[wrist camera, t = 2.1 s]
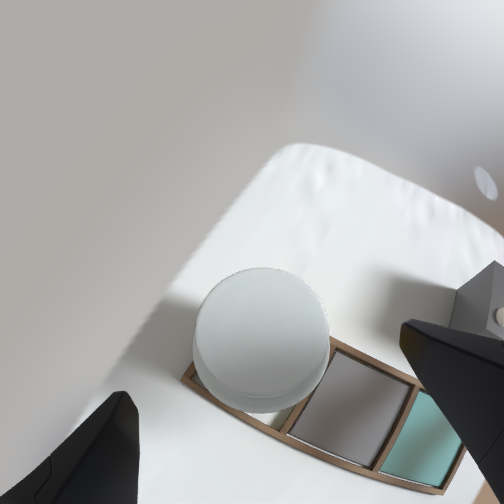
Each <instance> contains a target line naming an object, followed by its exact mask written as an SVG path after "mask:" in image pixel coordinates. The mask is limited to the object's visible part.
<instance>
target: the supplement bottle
mask: <svg viewBox="0 0 504 504" xmlns="http://www.w3.org/2000/svg"><path fill="white" fill-rule="evenodd" d="M192 353H193V360H194V364H195V368H196V371H197V373H198V375H199V377H200V379H201V381H202V382H203V384H204V385H205V387H206V388H207V389H208V390H209V392H210V393H211V394H212V395H213V396H214V397H216V398H217V399H218V400H220V401H221V402H222V403H224V404H226V405H228V406H230V407H232V408H234V409H237V410H240V411H243V412H248V413H259V414H263V413H273V412H278V411H281V410H284V409H287V408H289V407H291V406H293V405H295V404H297V403H298V402H300V401H301V400H303V399H304V398H305V397H307V396H308V395H309V394H310V393H311V392H312V391H313V390H314V388H315V387H316V386H317V385H318V383H319V382H320V380H321V378H322V376H323V374H324V372H325V370H326V367H327V364H328V360H329V353H330V341H329V323H328V316H327V314H326V311H325V308H324V306H323V304H322V302H321V300H320V298H319V297H318V295H317V294H316V293H315V292H314V290H313V289H312V288H311V287H310V286H309V285H308V284H306V283H305V282H304V281H303V280H301V279H300V278H298V277H296V276H295V275H293V274H290V273H288V272H285V271H282V270H279V269H273V268H252V269H247V270H243V271H240V272H237V273H235V274H233V275H231V276H229V277H227V278H225V279H224V280H222V281H221V282H220V283H218V284H217V285H216V286H215V287H214V288H213V289H212V290H211V291H210V292H209V294H208V295H207V297H206V298H205V300H204V301H203V303H202V305H201V307H200V310H199V312H198V315H197V319H196V325H195V331H194V335H193V343H192Z"/></svg>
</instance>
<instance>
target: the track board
mask: <svg viewBox="0 0 504 504" xmlns="http://www.w3.org/2000/svg"><path fill="white" fill-rule="evenodd" d="M329 341H330V353H329V360H330V358H331V356H332V354H333V352H334V350H335V348H336V349H338V350H340V351H342V352H344V353H346V354H348V355H350V356H352V357H354V358H356V359H358V360H360V361H362V362H364V363H366V364H368V365H370V366H372V367H374V368H376V369H378V370H380V371H382V372H385V373H387V374H389V375H391V376H393V377H395V378H397V379H399V380H401V381H404V382H406V383H408V384H410V385H412V387H411V390H410V392H409V394H408V397H407V399H406V401H405V403H404V400H405V398H406V396H407V393H408V391H409V389H410V387H409V386H407V385H405V384H403V383H401V382H398V381H396V380H394V379H392V378H390V377H388V376H386V375H383V374H381V373H379V372H377V371H375V370H373V369H371V368H369V367H367V366H365V365H363V364H361V363H359V362H357V361H355V360H353V359H351V358H349V357H347V356H345V355H343V354H341V353H339V352H336V353H335V355H334V357H333V359H332V361H331V362H330V364H329V366H328V368H327V370H326V372H325V374H324V376H323V377H322V379H321V381H320V383H319V385H318V386H317V388H316V390H315V392H314V393H313V395H312V397H311V399H310V400H309V402H308V404H307V406H306V407H305V409H304V411H303V412H302V414H301V415H300V417H299V419H298V420H297V422H296V424H295V425H294V427H293V428H292V430H291V431H290V434H292V435H294V436H296V437H298V438H300V439H303V440H305V441H307V442H309V443H311V444H313V445H316V446H318V447H320V448H323V449H325V450H327V451H330V452H332V453H334V454H337V455H339V456H342V457H344V458H347V459H349V460H352V461H355V462H357V463H360V464H363V465H366V466H369V467H370V465H371V464H372V462H373V460H374V459H375V457H376V455H377V453H378V452H379V450H380V448H381V446H382V445H383V443H384V441H385V439H386V437H387V435H388V433H389V431H390V430H391V428H392V426H393V424H394V422H395V420H396V417H397V415H398V413H399V411H400V409H401V407H402V405H403V403H404V406H403V408H402V410H401V412H400V414H399V416H398V418H397V420H396V422H395V425H394V427H393V428H392V430H391V432H390V434H389V436H388V438H387V440H386V442H385V444H384V445H383V447H382V449H381V451H380V453H379V454H378V456H377V458H376V460H375V461H374V463H373V465H372V466H371V468H370V469H366V468H363V467H360V466H357V465H355V464H352V463H349V462H347V461H344V460H342V459H339V458H337V457H334V456H332V455H329V454H327V453H324V452H322V451H320V450H318V449H315V448H313V447H311V446H309V445H306V444H304V443H302V442H300V441H298V440H296V439H294V438H291V437H289V436H287V435H286V434H287V432H288V431H289V429H290V428H291V426H292V424H293V423H294V421H295V420H296V418H297V416H298V415H299V413H300V412H301V410H302V408H303V407H304V405H305V403H306V401H307V400H308V398H309V396H310V395H311V393H312V392H311V393H310V394H309V395H308V396H307V397H305V398H304V399H303V400H301V401H300V402H298V403H297V404H296V405H295V407H294V408H293V410H292V412H291V413H290V415H289V416H288V418H287V420H286V421H285V423H284V424H283V426H282V427H281V429H280V431H277V430H275V429H274V428H272V427H270V426H268V425H266V424H264V423H262V422H260V421H258V420H257V419H255V418H253V417H251V416H249V415H248V414H246V413H244V412H242V411H240V410H237V409H234V408H232V407H230V406H228V405H226V404H224V403H222V402H221V401H220V400H218V399H217V398H216V397H214V396H213V395H212V394H211V393H210V392H209V391H208V390H206V389H205V388H203V387H202V386H200V385H199V384H197V383H196V382H194V381H193V380H191V378H192V377H193V375H194V374H195V372H196V368H195V364H194V360H193V362H192V363H191V365H190V366H189V368H188V369H187V371H186V372H185V374H184V375H183V377H182V378H181V379H180V381H182V382H183V383H185V384H186V385H188V386H189V387H190V388H192V389H193V390H195V391H196V392H198V393H199V394H201V395H203V396H204V397H206V398H207V399H209V400H210V401H212V402H213V403H215V404H217V405H218V406H220V407H222V408H223V409H225V410H226V411H228V412H230V413H231V414H233V415H235V416H237V417H238V418H240V419H242V420H244V421H245V422H247V423H249V424H251V425H253V426H254V427H256V428H258V429H260V430H262V431H264V432H266V433H267V434H269V435H271V436H273V437H275V438H277V439H279V440H281V441H283V442H285V443H287V444H289V445H292V446H294V447H296V448H298V449H300V450H302V451H304V452H307V453H309V454H311V455H314V456H316V457H318V458H321V459H323V460H325V461H328V462H330V463H333V464H335V465H338V466H340V467H343V468H346V469H348V470H351V471H354V472H357V473H360V474H362V475H365V476H368V477H371V478H375V479H378V480H381V481H384V482H388V483H391V484H395V485H398V486H402V487H406V488H410V489H414V490H418V491H423V492H427V493H432V494H437V495H444V493H445V491H446V490H447V488H448V486H449V484H450V482H451V481H452V479H453V477H454V475H455V473H456V471H457V469H458V467H459V465H460V463H461V461H462V459H463V457H464V455H465V452H466V450H467V448H466V447H465V445H464V444H463V442H462V441H461V439H460V438H459V436H458V435H457V433H456V432H455V430H454V429H453V428H452V426H451V425H450V423H449V422H448V420H447V419H446V417H445V416H444V415H443V413H442V412H441V410H440V409H439V407H438V406H437V405H436V403H435V402H434V400H433V399H432V398H431V396H429V395H427V394H425V393H422V392H420V391H419V389H421V390H423V391H426V389H425V388H424V387H423V385H422V384H421V382H420V381H419V380H418V379H416V378H414V377H412V376H410V375H408V374H406V373H404V372H401V371H399V370H397V369H395V368H393V367H391V366H389V365H387V364H385V363H383V362H381V361H379V360H377V359H375V358H373V357H371V356H369V355H367V354H365V353H363V352H361V351H359V350H357V349H355V348H353V347H351V346H349V345H347V344H345V343H343V342H341V341H339V340H337V339H335V338H333V337H331V336H329ZM329 360H328V362H329ZM426 392H427V391H426ZM461 443H462V444H461ZM459 448H460V449H459ZM458 450H459V451H458ZM457 452H458V453H457ZM456 454H457V455H456ZM379 470H380V471H383V472H387V473H390V474H393V475H396V476H400V477H403V478H407V479H410V480H414V481H418V482H422V483H426V484H430V485H435V486H439V487H440V488H439V489H437V488H432V487H428V486H424V485H420V484H416V483H412V482H408V481H404V480H401V479H397V478H394V477H390V476H387V475H384V474H381V473H378V471H379ZM446 474H447V475H446ZM445 476H446V477H445ZM444 478H445V479H444ZM440 485H441V486H440Z"/></svg>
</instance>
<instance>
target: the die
mask: <svg viewBox="0 0 504 504" xmlns="http://www.w3.org/2000/svg"><path fill="white" fill-rule="evenodd" d="M449 328H452V329H456V330H460V331H464V332H469V333H473V334H477V335H482V336H486V337H490V338H495V339H499V340H504V267H503V266H502V265H501V264H499V263H498V262H496V261H495V260H494V261H493V262H492V263H491V264H489V265H488V266H487V267H486V268H485V269H483V270H482V271H481V272H480V273H478V274H477V275H476V276H475V277H473V278H472V279H471V280H469V281H468V282H467V283H465V284H464V285H463V286H461V287H460V288H459V289H457V294H456V299H455V303H454V308H453V312H452V316H451V320H450V324H449Z"/></svg>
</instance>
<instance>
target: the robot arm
mask: <svg viewBox="0 0 504 504" xmlns="http://www.w3.org/2000/svg"><path fill="white" fill-rule="evenodd" d="M399 344H400V348H401V350H402V352H403V354H404V355H405V357H406V359H407V360H408V362H409V364H410V365H411V367H412V369H413V371H414V372H415V374H416V376H417V378H418V379H419V381H420V382H421V384H422V385H423V387H424V388H425V389H426V391H427V392H428V393H429V395H430V396H431V398H432V399H433V400H434V402H435V403H436V405H437V406H438V407H439V409H440V410H441V412H442V413H443V415H444V416H445V417H446V419H447V420H448V422H449V423H450V425H451V426H452V428H453V429H454V430H455V432H456V433H457V435H458V436H459V438H460V439H461V441H462V442H463V444H464V445H465V447H466V448H467V450H468V452H469V453H470V455H471V456H472V458H473V459H474V461H475V462H476V464H477V465H478V467H479V469H480V471H481V472H482V474H483V475H484V477H485V479H486V480H487V482H488V484H489V485H490V487H491V488H492V490H493V492H494V494H495V495H496V497H497V499H498V501H499V502H500V504H504V340H499V339H495V338H490V337H486V336H482V335H477V334H473V333H469V332H464V331H460V330H456V329H452V328H448V327H443V326H439V325H435V324H431V323H427V322H423V321H419V320H415V319H410V320H408V321H406V322H403V323H402V325H401V332H400V341H399ZM139 459H140V444H139V413H138V409H137V407H136V406H135V404H134V402H133V401H132V399H131V397H130V396H129V394H128V393H127V392H126V391H117V392H114V393H112V394H111V395H110V396H109V397H108V398H107V399H106V400H105V401H104V402H103V403H102V404H101V405H100V406H99V407H98V408H97V409H96V410H95V411H94V412H93V413H92V414H91V415H90V416H89V417H88V418H87V419H86V420H85V421H84V422H83V423H82V424H81V425H80V426H79V427H78V428H77V429H76V430H75V431H74V432H73V433H72V434H71V435H70V436H69V437H68V438H67V439H66V440H65V441H64V442H63V443H61V444H60V445H59V446H58V447H57V449H55V450H54V451H53V452H52V453H51V454H50V456H48V457H47V458H46V459H45V460H44V461H43V462H42V463H41V464H40V465H39V466H38V467H37V468H36V469H35V470H33V471H32V472H31V473H30V474H29V475H27V476H26V477H25V478H24V479H23V480H21V481H20V482H19V483H17V484H16V485H15V486H14V487H12V488H11V489H10V490H8V491H7V492H6V493H5V494H3V495H2V496H0V504H137V499H138V475H139Z"/></svg>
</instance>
